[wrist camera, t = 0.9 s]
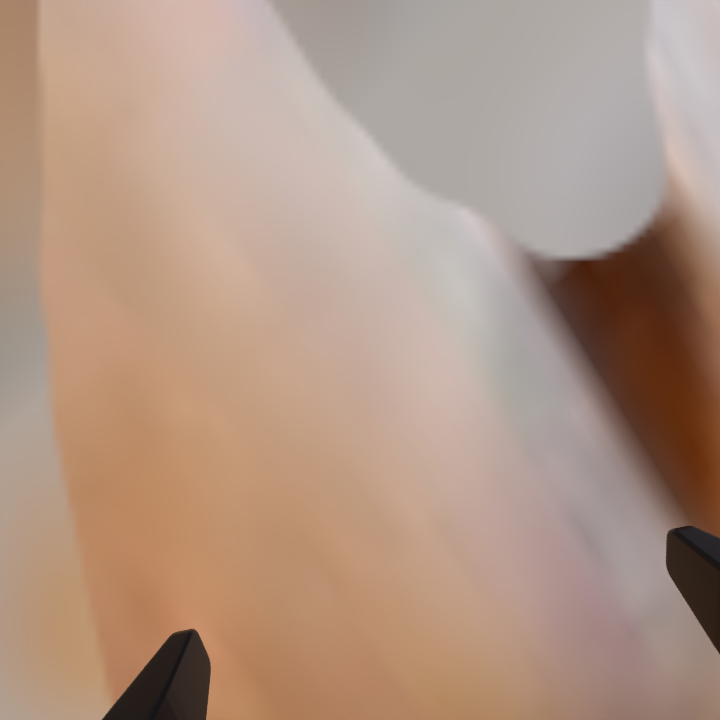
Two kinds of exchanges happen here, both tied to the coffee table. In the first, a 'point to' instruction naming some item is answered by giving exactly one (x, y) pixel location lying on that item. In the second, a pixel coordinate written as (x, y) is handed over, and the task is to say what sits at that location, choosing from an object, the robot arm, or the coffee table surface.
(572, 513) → the coffee table surface
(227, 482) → the coffee table surface
